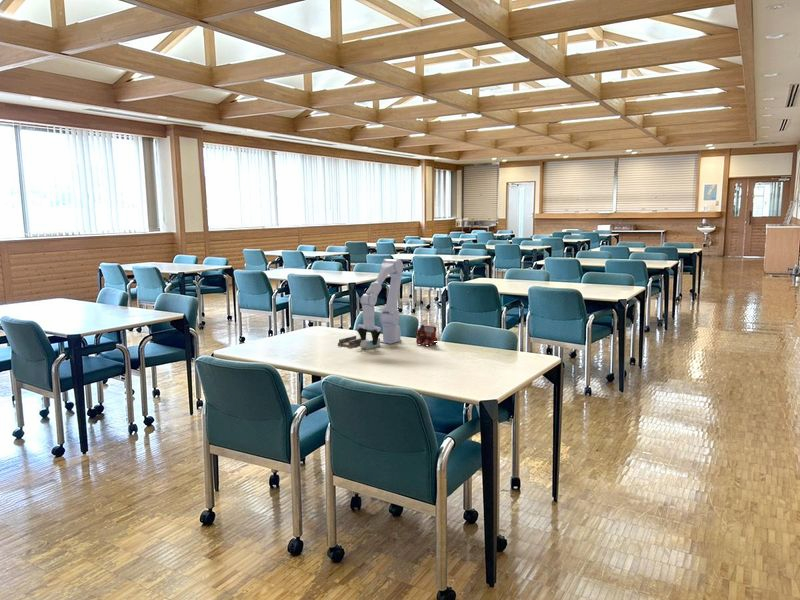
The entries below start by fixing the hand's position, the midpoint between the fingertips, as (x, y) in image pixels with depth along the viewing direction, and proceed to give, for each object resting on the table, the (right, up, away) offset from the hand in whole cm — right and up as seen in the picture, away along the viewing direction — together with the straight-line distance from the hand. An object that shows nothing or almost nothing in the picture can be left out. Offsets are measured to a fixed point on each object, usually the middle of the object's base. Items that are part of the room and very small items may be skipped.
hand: (369, 343), depth 302 cm
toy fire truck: (+29, -1, +4) cm, 30 cm away
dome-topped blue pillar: (0, -2, 0) cm, 2 cm away
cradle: (-9, -1, +8) cm, 12 cm away
